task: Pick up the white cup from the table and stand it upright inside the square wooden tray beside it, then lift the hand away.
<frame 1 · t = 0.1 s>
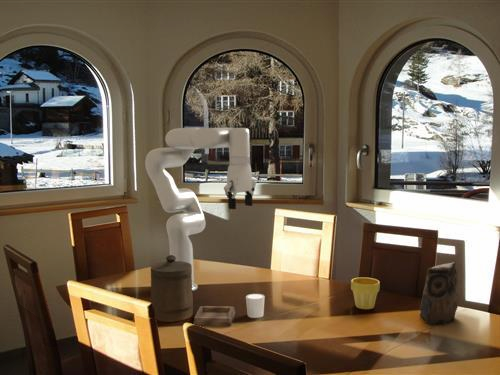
hand: (240, 207, 208), 37 cm above the table, tool pointing down, fingers open, 9 cm apart
plant pot: (365, 307, 207), on the table
square wooden tray: (214, 318, 196), on the table
white cup: (255, 315, 200), on the table
owl: (436, 319, 193), on the table
wooden container: (172, 315, 201), on the table
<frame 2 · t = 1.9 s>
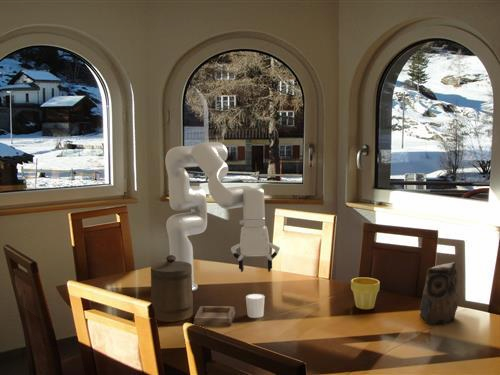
hand: (255, 271, 197), 16 cm above the table, tool pointing down, fingers open, 9 cm apart
nothing on the table moved.
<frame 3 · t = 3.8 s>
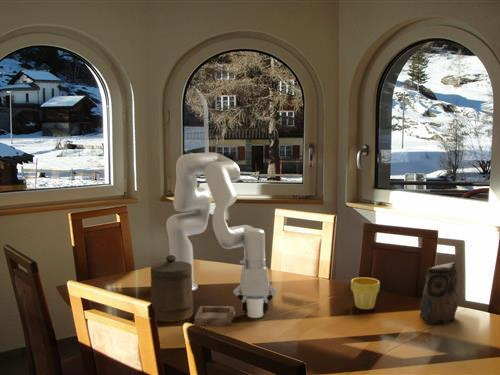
hand: (255, 312, 199), 1 cm above the table, tool pointing down, fingers closed on white cup, 6 cm apart
white cup: (255, 315, 200), on the table, touching gripper
everything else where it was.
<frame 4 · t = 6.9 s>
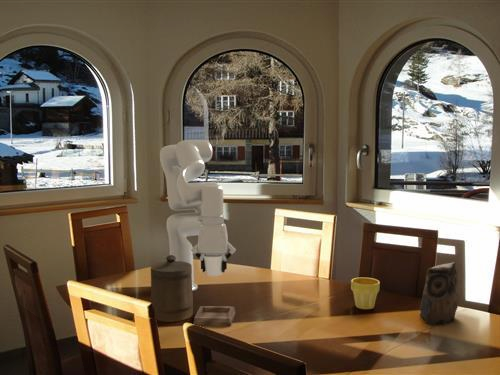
hand: (213, 270, 194), 17 cm above the table, tool pointing down, fingers closed on white cup, 6 cm apart
white cup: (214, 274, 195), point 16 cm above the table, touching gripper
everything else where it was.
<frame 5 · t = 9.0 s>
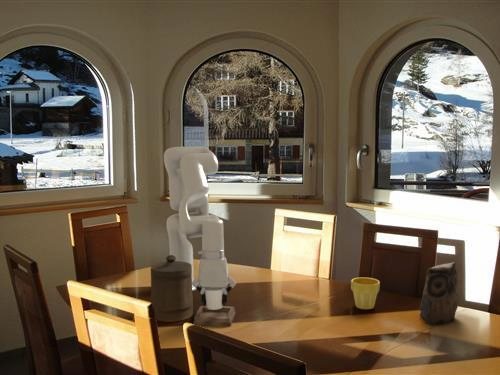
hand: (214, 303, 196), 5 cm above the table, tool pointing down, fingers closed on white cup, 6 cm apart
white cup: (214, 307, 196), point 4 cm above the table, touching gripper
everything else where it was.
when the fingers open (3 cm above the table, at t = 10.4 s): white cup drops 1 cm, resting on square wooden tray.
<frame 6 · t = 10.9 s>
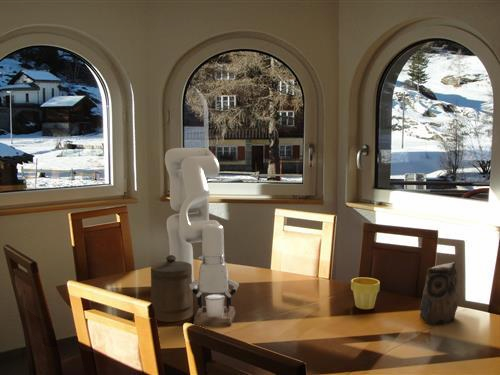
hand: (214, 307, 196), 4 cm above the table, tool pointing down, fingers open, 9 cm apart
white cup: (215, 316, 196), point 1 cm above the table, touching square wooden tray
everything else where it was.
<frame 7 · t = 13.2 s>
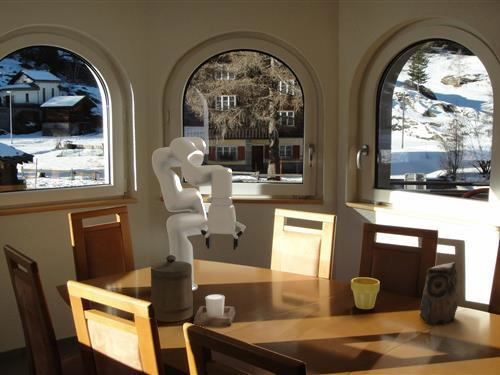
hand: (222, 248, 203), 23 cm above the table, tool pointing down, fingers open, 9 cm apart
nothing on the table moved.
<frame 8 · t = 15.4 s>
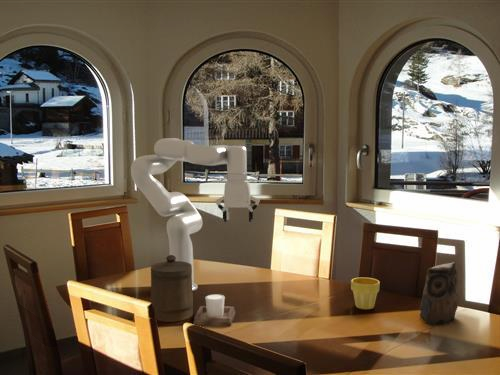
hand: (238, 221, 217), 30 cm above the table, tool pointing down, fingers open, 9 cm apart
nothing on the table moved.
at the end: white cup 0.2 cm off-centre on the square wooden tray, point 0.8 cm above the square wooden tray's base; white cup tilted 0°; the gripper is holding nothing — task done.
